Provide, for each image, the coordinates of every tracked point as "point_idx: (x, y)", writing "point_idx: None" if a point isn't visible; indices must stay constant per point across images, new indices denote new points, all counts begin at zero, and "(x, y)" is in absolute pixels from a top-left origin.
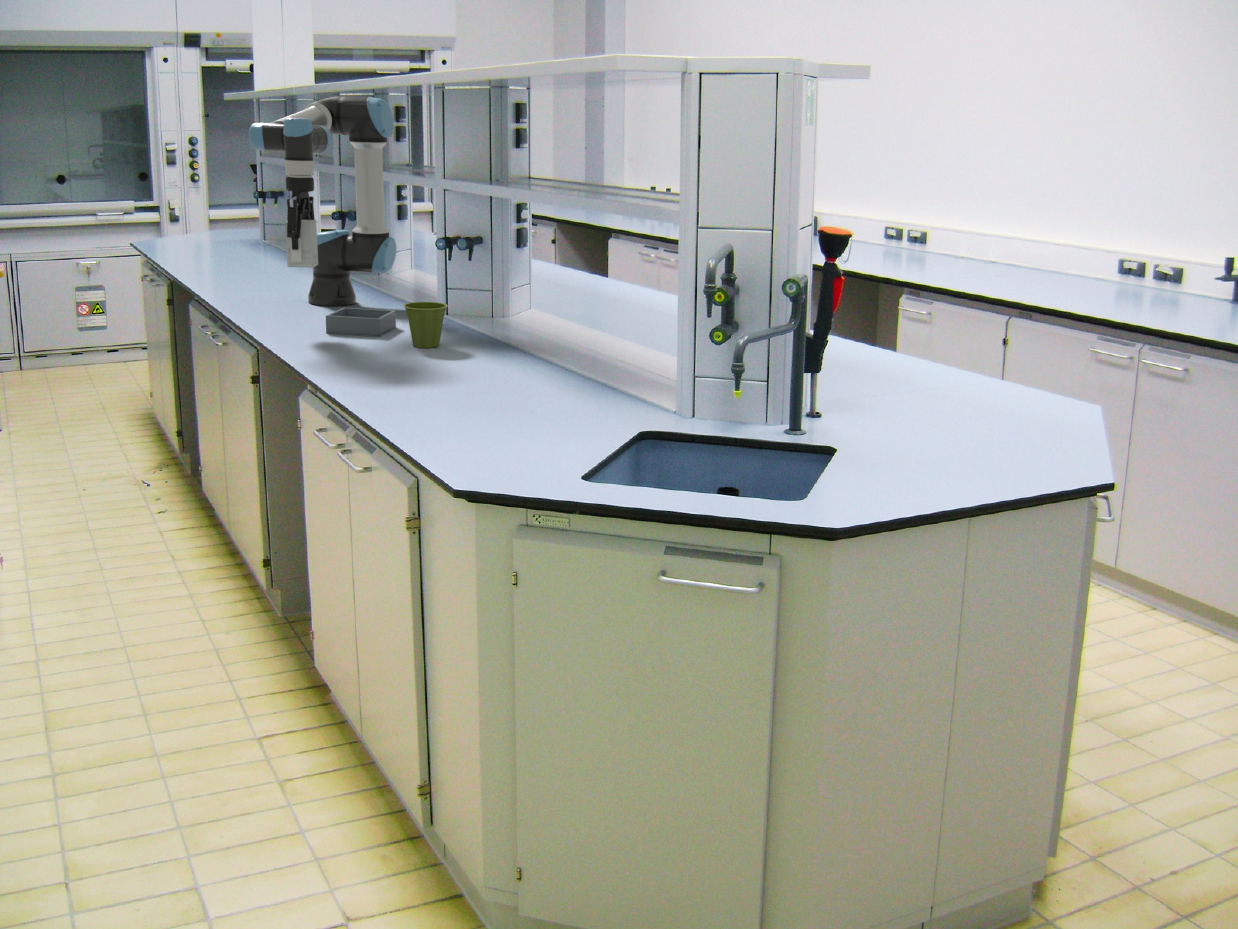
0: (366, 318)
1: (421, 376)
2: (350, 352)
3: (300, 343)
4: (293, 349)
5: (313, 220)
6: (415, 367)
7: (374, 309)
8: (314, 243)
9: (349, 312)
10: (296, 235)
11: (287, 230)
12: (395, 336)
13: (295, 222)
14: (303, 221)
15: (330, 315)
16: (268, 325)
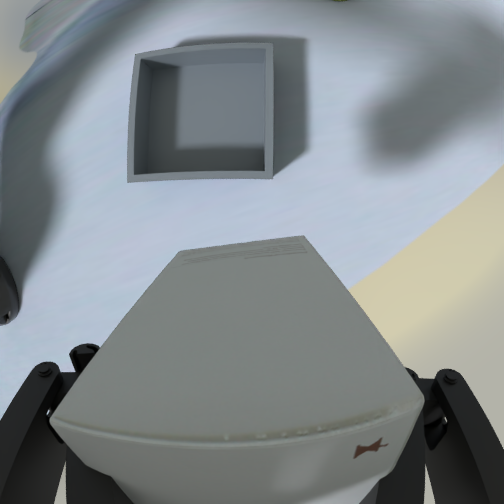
0: (273, 71)
1: (490, 23)
2: (432, 93)
3: (391, 197)
4: (438, 194)
5: (137, 450)
6: (465, 18)
7: (132, 100)
8: (258, 282)
9: (138, 165)
10: (447, 370)
11: (445, 432)
12: (255, 35)
13: (494, 435)
14: (354, 481)
15: (255, 171)
16: None
